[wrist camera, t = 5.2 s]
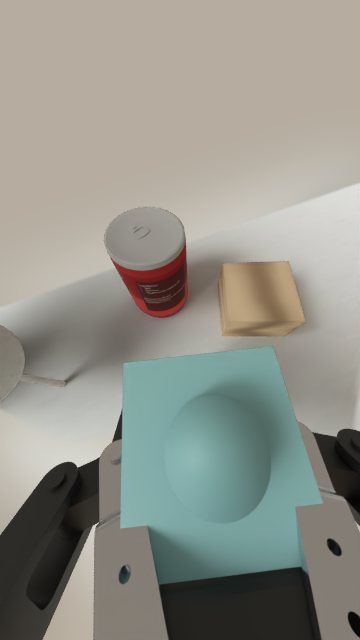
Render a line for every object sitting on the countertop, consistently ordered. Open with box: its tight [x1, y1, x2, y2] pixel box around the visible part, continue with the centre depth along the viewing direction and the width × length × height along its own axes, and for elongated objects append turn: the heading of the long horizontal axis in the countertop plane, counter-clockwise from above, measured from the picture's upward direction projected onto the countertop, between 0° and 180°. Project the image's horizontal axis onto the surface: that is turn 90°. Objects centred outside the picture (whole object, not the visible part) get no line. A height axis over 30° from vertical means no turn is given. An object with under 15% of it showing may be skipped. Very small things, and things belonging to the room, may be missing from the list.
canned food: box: [104, 207, 187, 317], centre depth 22 cm, size 8×8×11 cm
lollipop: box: [0, 325, 66, 402], centre depth 16 cm, size 7×7×15 cm
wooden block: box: [218, 261, 306, 336], centre depth 24 cm, size 8×8×5 cm
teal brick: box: [120, 346, 323, 584], centre depth 9 cm, size 5×5×11 cm
